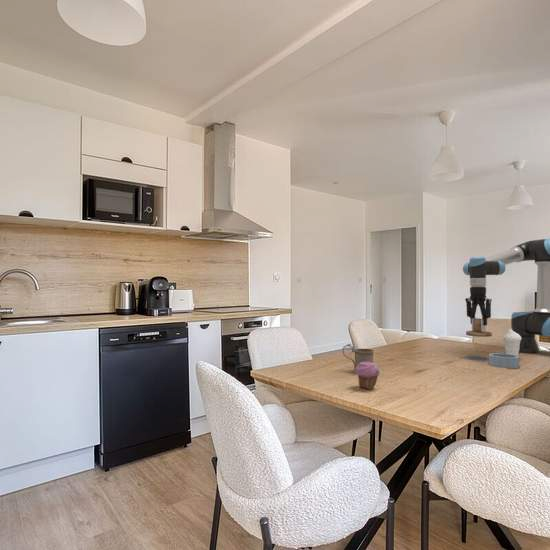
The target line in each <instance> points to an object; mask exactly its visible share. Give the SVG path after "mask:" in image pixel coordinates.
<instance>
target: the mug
mask: <svg viewBox="0 0 550 550" xmlns="http://www.w3.org/2000/svg"><path fill="white" fill-rule="evenodd" d="M347 347H351V349H352V350H351V353H354V359H352V358H351V357H349V356H347V355H346V354H345V351H344V349H345V348H347ZM374 352H375V351H374V349H371V348H355V349H354V347H353V345H352V344H351V343H347V344H346V345H345V346H343V347H342V354H343V356H344V357H345V358H347V359H349V360H351V362H352V363H353V367H354V369H353V370H352V372H353V374H354V373H355V374H356V372H355V370H356V367H357V365H359V364H360V363H361V362H372V363H374Z"/></svg>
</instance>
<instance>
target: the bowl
mask: <svg viewBox="0 0 550 550" xmlns="http://www.w3.org/2000/svg"><path fill="white" fill-rule="evenodd" d="M488 358H489V362H488V364H489V366H492V367H496V368H504V369H508V370H516V369H520V356H519V355H518V356H517V355H512V354H506V353H503V352H502V353H501V352H496V353H495V352H492V353H489V354H488Z"/></svg>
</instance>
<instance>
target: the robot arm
mask: <svg viewBox="0 0 550 550" xmlns="http://www.w3.org/2000/svg"><path fill="white" fill-rule="evenodd" d="M525 261H527V262H528V261H534V264H535V265H537V276H536V277H537V278H536V308H535V309H534V310H533V311H532V310H531V311H515V312H512V314H511V319H510V322H511V325H510V327H511V328H510V329H512V330H513V331H514V332H516V333H517V334H519V335H520V336H521V341H520V347H519V349H520V350H519V353H526V354H535V353H536V354H537V353H540V348H539V346H538V345H539V344H538V343H537V340H536V336H542V337H550V238H549V237H548V238H543V239H533V240H532V239H531V240H528V241H526V242H525V241H524V242H523V243H519V244H517V245H514V246H511V248H509V249H508V250H505V251H502V252H500V253H496V254H493V255H489V256H487V257H484V256H474V257H470V258H469V262H466V263H465V264H463V266H462V271H463V273H464V274H465V276H469V286H470V287H469V294H470V296H469V297H466V298H465V299H464V300H465V303H466V304H465V305H466V306H465V307H466V317H467V318H469V319H470V324H471V331H474V319H475V318H476V314H477V313H476V312H477V308H478V307H479V309H480V314H481V318H480V319H481V332H486V331H487V325H488V319H491V317H492V313H491V311H492V309H491V308H492V306H491V305H492V300H493V299H492V298H488V297H487V287H486V286H487V276H501V275H503V274H505V272H506V266H507V265H509V264H513V263H521V262H525Z"/></svg>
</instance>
